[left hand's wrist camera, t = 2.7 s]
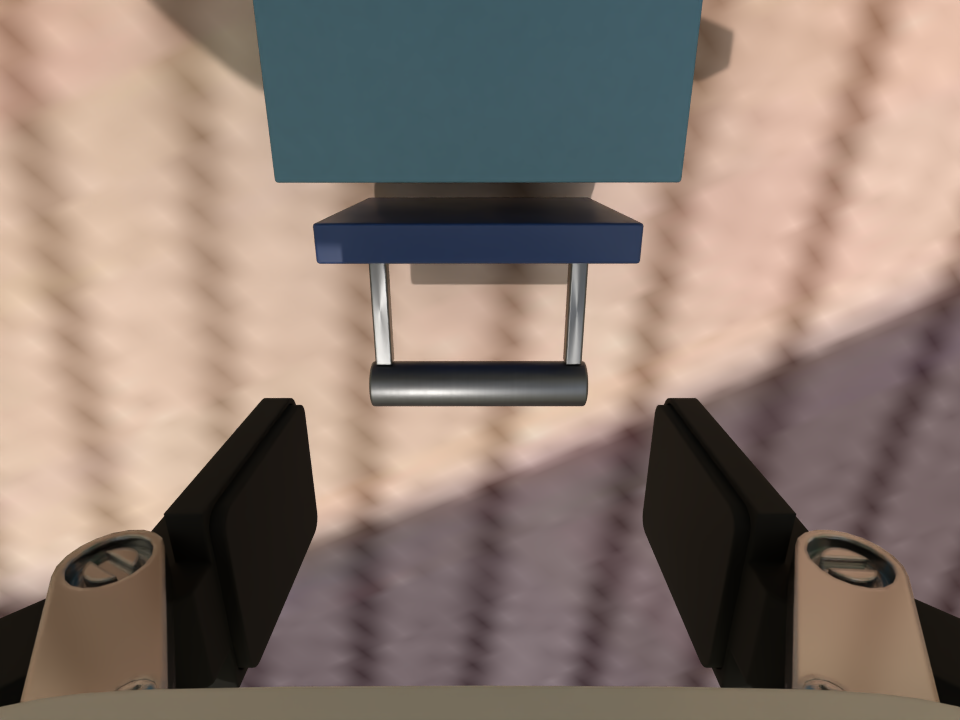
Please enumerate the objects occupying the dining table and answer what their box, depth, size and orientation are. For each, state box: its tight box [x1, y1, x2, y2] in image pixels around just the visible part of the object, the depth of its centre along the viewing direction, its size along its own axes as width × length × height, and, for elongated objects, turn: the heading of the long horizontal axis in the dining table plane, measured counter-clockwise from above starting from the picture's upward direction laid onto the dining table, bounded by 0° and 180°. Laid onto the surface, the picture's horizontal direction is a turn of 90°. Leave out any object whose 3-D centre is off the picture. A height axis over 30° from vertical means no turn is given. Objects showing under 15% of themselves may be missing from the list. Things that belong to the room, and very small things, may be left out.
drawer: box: [313, 198, 643, 406], centre depth 20 cm, size 18×10×9 cm, turn 0°
